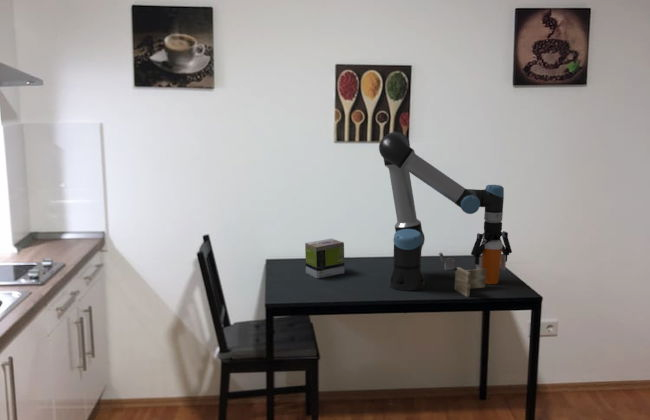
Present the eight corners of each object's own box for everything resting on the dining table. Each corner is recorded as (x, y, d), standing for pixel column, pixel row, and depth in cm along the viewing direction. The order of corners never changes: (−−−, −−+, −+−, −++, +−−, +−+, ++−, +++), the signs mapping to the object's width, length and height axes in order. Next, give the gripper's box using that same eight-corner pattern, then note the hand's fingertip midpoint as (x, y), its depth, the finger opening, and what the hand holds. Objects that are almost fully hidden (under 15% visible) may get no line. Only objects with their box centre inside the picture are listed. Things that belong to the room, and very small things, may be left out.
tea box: (332, 268, 300) (332, 237, 297) (344, 273, 292) (345, 242, 289) (304, 273, 292) (304, 241, 289) (316, 279, 284) (316, 246, 281)
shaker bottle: (497, 286, 274) (499, 240, 271) (476, 282, 279) (478, 237, 275) (503, 280, 282) (505, 236, 278) (483, 277, 287) (485, 233, 283)
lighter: (453, 268, 300) (453, 252, 299) (454, 269, 299) (454, 252, 297) (438, 268, 300) (438, 252, 298) (439, 269, 298) (439, 253, 297)
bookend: (466, 296, 260) (468, 273, 258) (454, 289, 270) (455, 266, 268) (497, 293, 265) (498, 270, 263) (483, 286, 274) (485, 263, 272)
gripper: (473, 224, 268) (470, 275, 272) (522, 221, 275) (519, 270, 280) (464, 221, 275) (461, 270, 279) (512, 217, 282) (509, 265, 287)
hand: (490, 270), depth 279 cm, fingers open, 11 cm apart
